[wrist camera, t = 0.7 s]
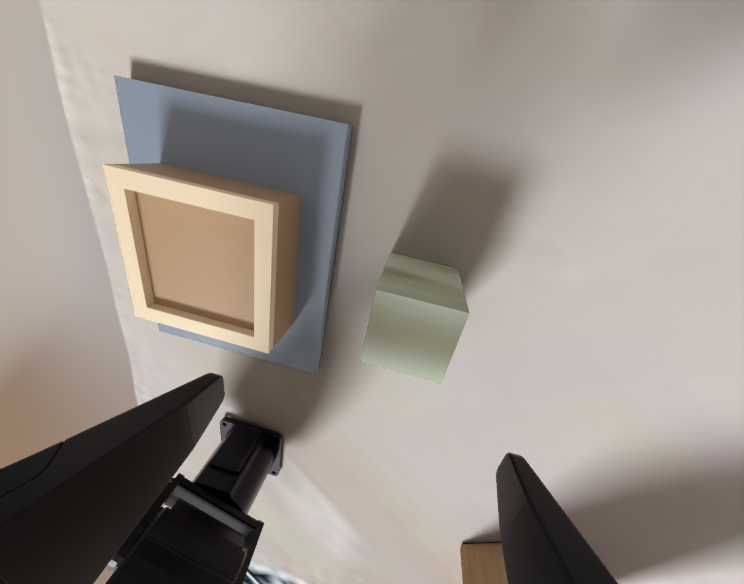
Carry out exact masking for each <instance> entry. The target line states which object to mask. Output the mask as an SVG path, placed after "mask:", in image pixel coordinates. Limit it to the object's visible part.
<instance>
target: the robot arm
mask: <svg viewBox="0 0 744 584" xmlns="http://www.w3.org/2000/svg"><path fill="white" fill-rule="evenodd" d="M224 395H225V392H224V381H223V377H222V376H221V375H217V374H214V373H208V374H206V375H203V376H201V377H199V378H197V379H195V380H193V381H191V382H188V383H186V384H184V385H182V386H180V387H178V388H176V389H173V390H171V391H169V392H167V393H165V394H163V395H160V396H158V397H156V398H154V399H152V400H150V401H148V402H145V403H143V404H141V405H139V406H137V407H135V408H133V409H130V410H128V411H126V412H124V413H122V414H120V415H117V416H115V417H113V418H111V419H109V420H107V421H105V422H102V423H101V424H98V425H96V426H94V427H92V428H90V429H87V430H85V431H83V432H81V433H79V434H77V435H75V436H72V437H70V438H68V439H66V440H65V441H64V442H63V441H62V442H60V443H57V444H55V445H53V446H51V447H49V448H46V449H44V450H42V451H40V452H38V453H35V454H33V455H31V456H29V457H26V458H24V459H22V460H20V461H18V462H15V463H13V464H11V465H8V466H6V467H4V468H1V469H0V584H93V583H94V582H95V581H96V579H97V578H98V577H99V575H100V574H101V573H102V571H103V570H104V569H105V568H107V569H109V570H111V571H113V572H114V573H113V574H112V576H111V577H110V578H109V580H108V581H107V582H106V584H242V583H243V580H244V578H245V575H246V573H247V570H248V567H249V564H250V561H251V559H252V556H253V553H254V550H255V547H256V545H257V542H258V539H259V536H260V534H261V531H262V528H263V525H264V523H263V522H262V521H260V520H258V521H257V520H256V519H254V518H252V517H250V516H249V515H247V514H248V512H249V510H250V508H251V506H252V504H253V502H254V500H255V498H256V496H257V494H258V492H259V490H260V488H261V486H262V484H263V482H264V480H265V478H266V477H267V475H268V474H271V475H274V476H277V475H278V473H279V471H280V460H281V446H282V436H281V435H280V434H278V433H275V432H272V431H269V430H265V429H262V428H259V427H256V426H252V425H249V424H246V423H242V422H239V421H236V420H233V419H229V418H223V419H222V420H221V421H220V431H221V443H220V445H219V446H218V447H217V449H216V450H215V451H214V453H213V454H212V455H211V457H210V458H209V460H208V461H207V462H206V464H205V465H204V466H203V468H202V469H201V471H200V472H199V473H198V475H197V476H196V477H195V479H194V480H193V481H192V482H191V481H189V480H188V479H186V478H184V475H182V474H180V473H179V474H178V475H177V476H176V478H172V477H173V476H174V474H175V473H176V472H177V470H178V469H179V468H180V466H181V465H182V464H183V462H184V461H185V459H186V458H187V457H188V455H189V454H190V453H191V451H192V450H193V448H194V447H195V446H196V444H197V442H198V441H199V439H200V438H201V436H202V434H203V433H204V431H205V429H206V428H207V426H208V424H209V423H210V421H211V420H212V418H213V416H214V415H215V413H216V411H217V410H218V408H219V406H220V405H221V403H222V401H223V399H224ZM496 482H497V497H498V512H499V527H500V538H501V545H502V551H503V557H504V563H505V570H506V576H507V582H508V584H618V583H617V581H616V580H615V579H614V577H613V576H612V575H611V573H610V572H609V571H608V569H607V568H606V567H605V565H604V564H603V563H602V561H601V560H600V559H599V557H598V556H597V555H596V553H595V552H594V551H593V549H592V548H591V547H590V545H589V544H588V543H587V541H586V540H585V539H584V537H583V536H582V535H581V533H580V532H579V531H578V529H577V528H576V527H575V525H574V524H573V523H572V521H571V520H570V519H569V517H568V516H567V515H566V513H565V512H564V511H563V509H562V508H561V507H560V505H559V504H558V503H557V501H556V500H555V499H554V497H553V496H552V495H551V493H550V492H549V491H548V489H547V488H546V487H545V485H544V484H543V483H542V481H541V480H540V479H539V477H538V476H537V475H536V473H535V472H534V471H533V469H532V468H531V467H530V465H529V464H528V463H527V461H526V460H525V459H524V458H523V457H522V456H520V455H516V454H513V453H507V454H506V455H505V457H504V458H503V460H502V462H501V464H500V465H499V467H498V469H497V473H496ZM164 504H165V505H167V506H169V507H170V508H171V509H170V508H169V507H166V508H163V505H164Z"/></svg>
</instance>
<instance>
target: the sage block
mask: <svg viewBox="0 0 744 584" xmlns="http://www.w3.org/2000/svg"><path fill="white" fill-rule="evenodd" d="M468 315H469V310H468V306H467V302H466V298H465V294H464V290H463V286H462V282H461V278H460V274H459V270H458V269H457V268H453V267H449V266H444V265H440V264H436V263H432V262H428V261H424V260H420V259H415V258H411V257H407V256H403V255H399V254H395V253H391V254H390V256H389V259H388V261H387V264H386V266H385V268H384V271H383V273H382V276H381V278H380V281H379V283H378V286H377V288H376V291H375V296H374V300H373V305H372V309H371V314H370V319H369V323H368V328H367V332H366V337H365V342H364V346H363V351H362V355H361V360H360V362H363V363H367V364H371V365H374V366H378V367H382V368H385V369H389V370H392V371H396V372H400V373H403V374H407V375H411V376H414V377H418V378H421V379H425V380H429V381H432V382H436V383H440V384H441V383H442V380H443V378H444V375H445V373H446V370H447V368H448V365H449V363H450V360H451V358H452V355H453V353H454V350H455V348H456V345H457V343H458V340H459V338H460V335H461V333H462V330H463V328H464V325H465V323H466V320H467V318H468Z"/></svg>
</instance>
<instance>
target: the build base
mask: <svg viewBox="0 0 744 584" xmlns="http://www.w3.org/2000/svg"><path fill="white" fill-rule="evenodd" d="M114 78H115V84H116V89H117V95H118V101H119V106H120V112H121V118H122V123H123V129H124V134H125V140H126V146H127V151H128V157H129V163H130V164H104V165H103V168H104V172H105V177H106V182H107V186H108V191H109V196H110V200H111V205H112V209H113V214H114V219H115V223H116V228H117V232H118V237H119V242H120V246H121V251H122V255H123V260H124V265H125V269H126V274H127V278H128V283H129V288H130V292H131V297H132V301H133V306H134V311H135V315H136V317H140V318H143V319H147V320H150V321H154V322H157V323H158V326H159V331H163V332H166V333H170V334H173V335H177V336H180V337H184V338H187V339H191V340H194V341H198V342H202V343H205V344H209V345H212V346H216V347H219V348H223V349H226V350H230V351H233V352H237V353H240V354H244V355H247V356H251V357H255V358H258V359H262V360H265V361H269V362H272V363H276V364H279V365H283V366H286V367H290V368H293V369H297V370H300V371H304V372H308V373H311V374H316V372H317V370H318V368H319V365H320V358H321V351H322V343H323V336H324V329H325V322H326V314H327V307H328V300H329V292H330V285H331V278H332V270H333V263H334V256H335V248H336V241H337V234H338V227H339V219H340V212H341V205H342V197H343V190H344V183H345V175H346V168H347V161H348V154H349V146H350V139H351V132H352V125H349V124H345V123H340V122H336V121H331V120H326V119H321V118H316V117H312V116H307V115H302V114H297V113H292V112H288V111H283V110H278V109H273V108H268V107H264V106H259V105H254V104H249V103H244V102H240V101H235V100H230V99H225V98H220V97H216V96H211V95H206V94H201V93H196V92H192V91H187V90H182V89H177V88H172V87H168V86H163V85H158V84H153V83H148V82H144V81H139V80H134V79H129V78H124V77H120V76H115V75H114Z"/></svg>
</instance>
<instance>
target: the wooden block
mask: <svg viewBox="0 0 744 584" xmlns="http://www.w3.org/2000/svg"><path fill="white" fill-rule="evenodd" d="M460 553H461V566H462V579H463V584H508V582H507V576H506V570H505V563H504V557H503V551H502V545H501V543H482V544H463V545H461V548H460Z"/></svg>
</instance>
